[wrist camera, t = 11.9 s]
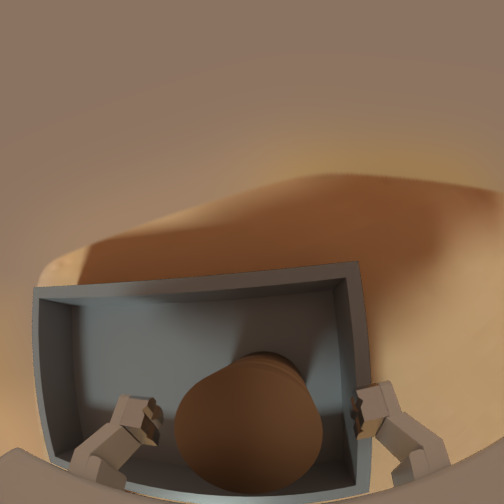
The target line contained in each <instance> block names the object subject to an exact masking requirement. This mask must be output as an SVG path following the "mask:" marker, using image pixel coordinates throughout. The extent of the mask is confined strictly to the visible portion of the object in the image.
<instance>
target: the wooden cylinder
mask: <svg viewBox="0 0 504 504" xmlns="http://www.w3.org/2000/svg"><path fill="white" fill-rule="evenodd" d="M174 434H175V439H176V444H177V446H178V449H179V451H180V453H181V455H182V457H183V459H184V460H185V462H186V463H187V464H188V466H189V467H190V468H191V469H192V470H193V471H194V472H195V473H196V474H197V475H198V476H200V477H201V478H202V479H204V480H205V481H207V482H208V483H210V484H212V485H214V486H216V487H219V488H221V489H224V490H227V491H231V492H235V493H241V494H262V493H268V492H272V491H276V490H279V489H281V488H284V487H286V486H288V485H290V484H292V483H294V482H295V481H297V480H298V479H299V478H301V477H302V476H303V475H304V474H305V473H306V472H307V471H308V470H309V469H310V467H311V466H312V465H313V464H314V462H315V460H316V458H317V456H318V454H319V451H320V449H321V444H322V438H323V429H322V422H321V418H320V415H319V413H318V410H317V408H316V406H315V404H314V402H313V400H312V397H311V395H310V393H309V391H308V389H307V387H306V385H305V383H304V381H303V378H302V376H301V374H300V372H299V370H298V369H297V367H296V366H295V365H294V364H293V363H292V362H291V361H290V360H289V359H287V358H286V357H284V356H282V355H280V354H277V353H274V352H268V351H260V352H254V353H250V354H248V355H246V356H244V357H242V358H240V359H238V360H237V361H235V362H233V363H231V364H229V365H228V366H226V367H224V368H222V369H220V370H218V371H217V372H215V373H213V374H211V375H209V376H207V377H205V378H203V379H202V380H200V381H199V382H198V383H196V384H195V385H194V386H193V387H192V388H191V389H189V391H188V392H187V393H186V394H185V396H184V397H183V399H182V400H181V402H180V404H179V406H178V409H177V411H176V415H175V421H174Z"/></svg>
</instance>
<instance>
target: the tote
mask: <svg viewBox="0 0 504 504" xmlns="http://www.w3.org/2000/svg"><path fill="white" fill-rule="evenodd" d="M32 347H33V365H34V377H35V386H36V394H37V402H38V408H39V414H40V420H41V425H42V430H43V434H44V439H45V443H46V447H47V451H48V455H49V459H50V462H51V463H53V464H56V465H58V466H60V467H62V468H65V469H67V470H68V468H69V465H70V462H71V459H72V456H73V453H74V451H75V448H77V447H78V446H79V445H80V444H82V443H83V442H84V441H85V440H87V439H88V438H89V437H90V436H92V435H93V434H94V433H95V432H96V431H98V430H99V429H100V428H101V427H103V426H104V425H105V424H106V423H110V421H111V418H112V415H113V412H114V410H115V407H116V404H117V401H118V399H119V397H120V395H121V394H127V395H134V396H144V397H153V398H154V399H155V400H156V405H158V406H160V407H161V409H162V411H163V414H164V421H163V426H161V427H160V428H159V429H158V430H159V432H160V439H159V443H158V446H153V445H146V444H141V446H140V447H139V448H138V449H137V450H136V451H135V452H134V453H133V454H132V455H131V457H130V458H129V459H128V460H127V461H126V462H125V463H124V464H123V465H122V466H121V467H120V468H119V470H118V471H119V472H121V473H122V474H124V475H125V476H126V477H127V480H126V485H125V490H129V491H133V492H137V493H141V494H145V495H150V496H154V497H160V498H165V499H171V500H177V501H183V502H191V503H199V504H305V503H313V502H321V501H327V500H333V499H339V498H344V497H349V496H354V495H359V494H363V493H367V492H369V486H370V473H371V454H372V437H369V438H364V439H359V440H356V438H355V433H354V429H353V426H354V423H355V421H354V420H353V419H352V418H351V415H350V399H351V397H353V394H352V391H353V389H354V388H356V387H361V386H365V385H370V384H371V368H370V353H369V341H368V331H367V321H366V312H365V304H364V296H363V289H362V282H361V275H360V269H359V263H358V261H351V262H342V263H333V264H324V265H314V266H304V267H295V268H285V269H275V270H264V271H254V272H243V273H232V274H221V275H209V276H197V277H185V278H173V279H160V280H147V281H133V282H118V283H103V284H87V285H70V286H52V287H34V289H33V307H32ZM260 351H268V352H274V353H277V354H280V355H282V356H284V357H286V358H287V359H289V360H290V361H291V362H292V363H293V364H294V365H295V366H296V367H297V369H298V370H299V372H300V374H301V376H302V378H303V381H304V383H305V385H306V387H307V389H308V391H309V393H310V395H311V397H312V400H313V402H314V404H315V406H316V408H317V410H318V413H319V415H320V418H321V422H322V429H323V438H322V444H321V449H320V451H319V454H318V456H317V458H316V460H315V462H314V464H313V465H312V466H311V467H310V469H309V470H308V471H307V472H306V473H305V474H304V475H303V476H302V477H301V478H299V479H298V480H297V481H295V482H294V483H292V484H290V485H288V486H286V487H284V488H281V489H279V490H276V491H272V492H268V493H262V494H241V493H235V492H231V491H227V490H224V489H221V488H219V487H216V486H214V485H212V484H210V483H208V482H207V481H205V480H204V479H202V478H201V477H200V476H198V475H197V474H196V473H195V472H194V471H193V470H192V469H191V468H190V467H189V466H188V464H187V463H186V462H185V460H184V459H183V457H182V455H181V453H180V451H179V449H178V446H177V444H176V439H175V434H174V421H175V415H176V411H177V409H178V406H179V404H180V402H181V400H182V399H183V397H184V396H185V394H186V393H187V392H188V391H189V389H191V388H192V387H193V386H194V385H195V384H196V383H198V382H199V381H200V380H202V379H203V378H205V377H207V376H209V375H211V374H213V373H215V372H217V371H218V370H220V369H222V368H224V367H226V366H228V365H229V364H231V363H233V362H235V361H237V360H238V359H240V358H242V357H244V356H246V355H248V354H250V353H254V352H260Z"/></svg>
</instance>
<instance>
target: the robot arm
mask: <svg viewBox="0 0 504 504" xmlns="http://www.w3.org/2000/svg"><path fill="white" fill-rule="evenodd" d="M352 394H353V397H351V399H350V415H351V418H352V419H353V420H354V421H355V423H354V426H353V429H354V433H355V438H356V440H359V439H364V438H369V437H374V436H375V437H376V438H377V439H378V440H379V441H380V442H381V443H382V444H383V445H384V446H385V447H386V448H387V449H388V450H389V451H390V452H391V453H392V454H393V455H394V456H395V457H396V458H397V459H398V460H399V461H400V462H401V463H400V464H399V465H398V466H397V467H396V468H395V469H394V470H393V471H392V472H391V474H392V479H393V484H394V487H393V488H390V489H387V490H383V491H380V492H376V493H372V494H368V495H364V496H360V497H355V498H350V499H345V500H340V501H335V502H329V503H322V504H504V437H502V438H500V439H499V440H497V441H496V442H494V443H492V444H491V445H489V446H487V447H486V448H484V449H482V450H480V451H478V452H477V453H475V454H473V455H471V456H469V457H467V458H465V459H463V460H461V461H459V462H457V463H455V464H453V465H451V464H450V460H449V457H448V454H447V451H446V448H445V445H444V442H443V440H442V439H441V438H440V437H438V436H437V435H436V434H434V433H433V432H431V431H430V430H429V429H427V428H426V427H425V426H423V425H422V424H421V423H419V422H418V421H417V420H415V419H414V418H412V417H411V416H410V415H408V414H407V413H406V412H403V413H402V411H401V408H400V406H399V403H398V400H397V397H396V394H395V392H394V389H393V386H392V383H391V382H390V381H384V382H379V383H374V384H370V385H365V386H361V387H356V388H354V389H353V391H352ZM163 421H164V414H163V411H162V409H161V407H160V406H158V405H156V400H155V399H154V398H153V397H144V396H134V395H127V394H121V395H120V397H119V399H118V401H117V404H116V407H115V410H114V412H113V415H112V418H111V421H110V423H106V424H105V425H104V426H103V427H101V428H100V429H99V430H98V431H96V432H95V433H94V434H93V435H92V436H90V437H89V438H88V439H87V440H85V441H84V442H83V443H82V444H80V445H79V446H78V447H77V448H75V451H74V453H73V456H72V459H71V462H70V465H69V468H68V471H66V470H63V469H61V468H59V467H57V466H55V465H52V464H50V463H48V462H46V461H44V460H42V459H40V458H38V457H36V456H34V455H32V454H30V453H29V452H27V451H25V450H23V449H21V448H15V449H12V450H11V451H9V452H7V453H6V454H4V455H3V456H1V457H0V504H184V503H177V502H171V501H165V500H160V499H155V498H150V497H146V496H141V495H137V494H133V493H130V492H126V491H124V490H125V485H126V480H127V477H126V476H125V475H124V474H122V473H121V472H119V471H118V470H119V468H120V467H121V466H122V465H123V464H124V463H125V462H126V461H127V460H128V459H129V458H130V457H131V455H132V454H133V453H134V452H135V451H136V450H137V449H138V448H139V447H140V446H141V444H146V445H153V446H158V443H159V439H160V432H159V430H158V429H159V428H160V427H161V426H163Z"/></svg>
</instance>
